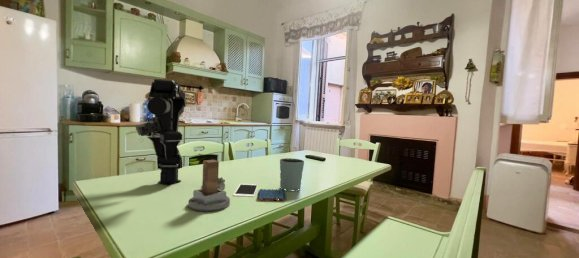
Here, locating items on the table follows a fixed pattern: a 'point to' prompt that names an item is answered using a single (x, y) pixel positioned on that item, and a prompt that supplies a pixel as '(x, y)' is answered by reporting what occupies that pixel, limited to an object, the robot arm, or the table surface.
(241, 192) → the cell phone
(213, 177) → the brown wooden square peg
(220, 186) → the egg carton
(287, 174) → the grey cup
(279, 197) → the woven mat
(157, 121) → the robot arm
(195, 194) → the rosette socket
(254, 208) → the table surface
